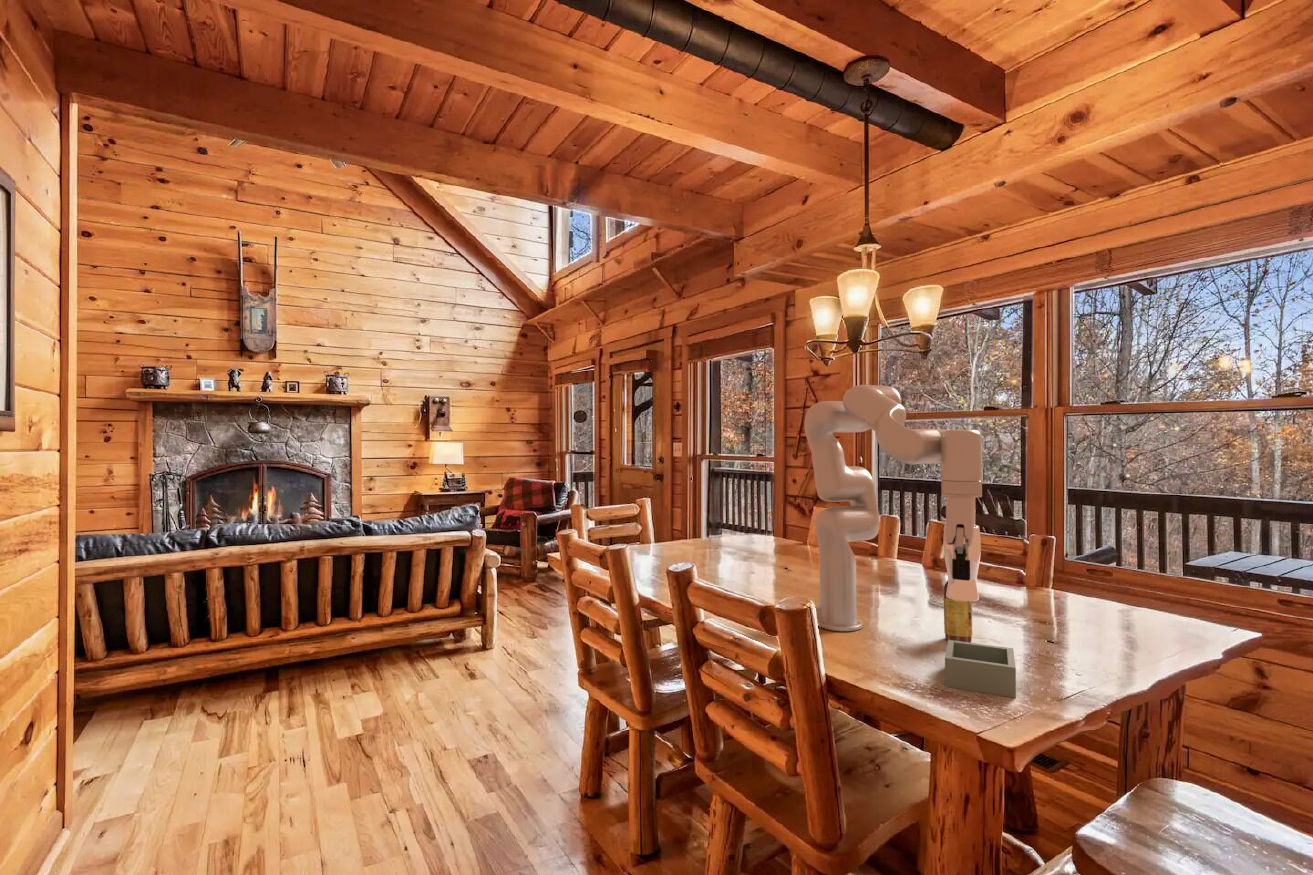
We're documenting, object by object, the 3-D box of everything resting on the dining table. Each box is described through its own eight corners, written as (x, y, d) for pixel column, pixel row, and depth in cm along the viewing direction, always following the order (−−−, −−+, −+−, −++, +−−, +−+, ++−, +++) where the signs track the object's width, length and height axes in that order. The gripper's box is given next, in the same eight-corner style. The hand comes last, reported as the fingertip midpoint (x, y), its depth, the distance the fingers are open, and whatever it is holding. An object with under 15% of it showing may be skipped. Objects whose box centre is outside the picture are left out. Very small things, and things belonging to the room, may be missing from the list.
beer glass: (937, 594, 132) (936, 523, 132) (969, 593, 132) (968, 522, 132) (955, 602, 125) (954, 528, 125) (988, 601, 125) (988, 527, 125)
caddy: (945, 686, 126) (944, 657, 126) (948, 666, 137) (948, 639, 137) (1015, 697, 120) (1015, 667, 120) (1013, 675, 131) (1013, 648, 131)
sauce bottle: (975, 645, 150) (975, 563, 150) (947, 644, 151) (947, 562, 151) (967, 637, 156) (967, 557, 156) (941, 635, 158) (940, 557, 158)
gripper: (945, 485, 138) (945, 566, 138) (937, 491, 123) (938, 582, 123) (983, 486, 134) (984, 569, 134) (980, 493, 119) (981, 587, 119)
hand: (962, 575), depth 129 cm, fingers closed on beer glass, 6 cm apart
